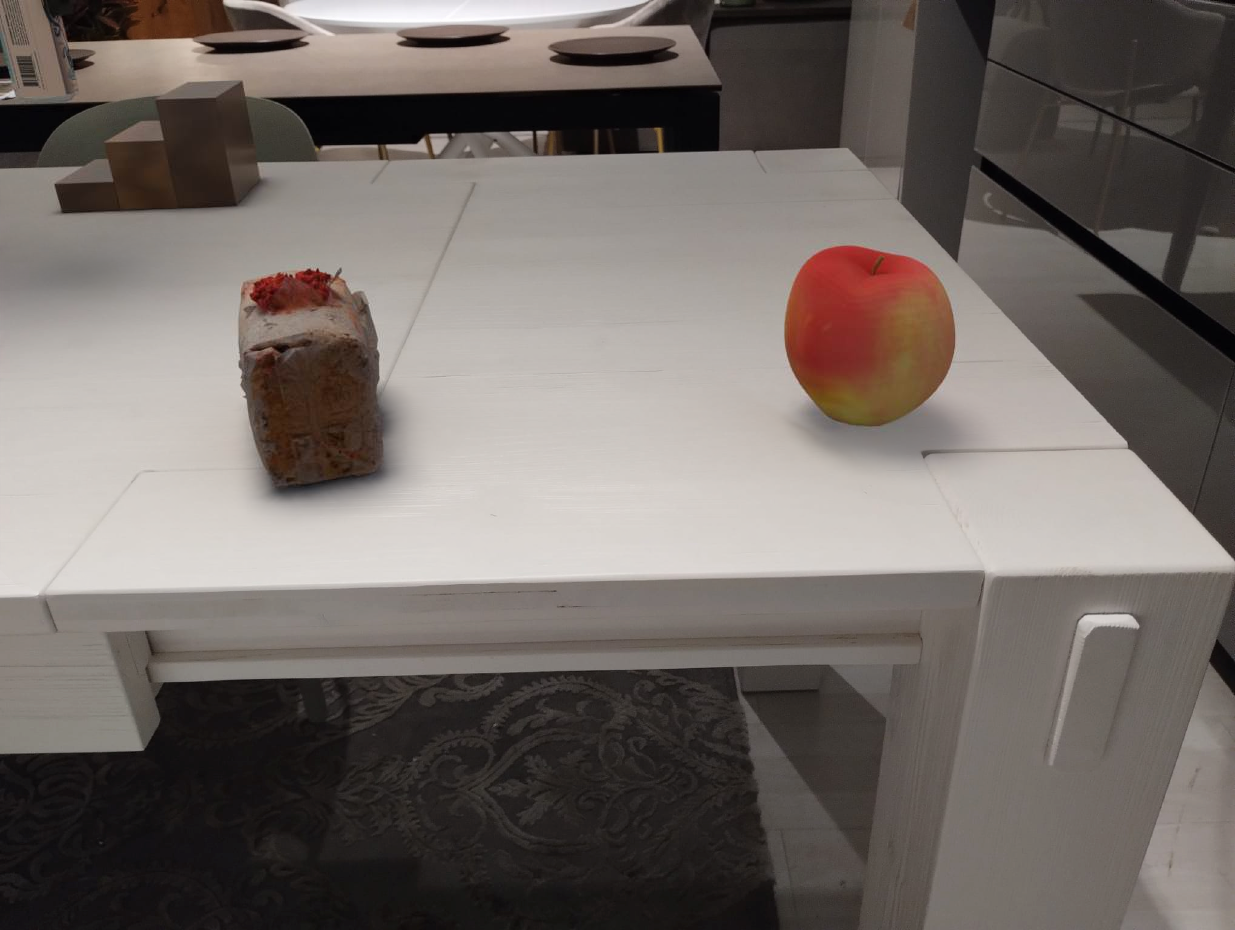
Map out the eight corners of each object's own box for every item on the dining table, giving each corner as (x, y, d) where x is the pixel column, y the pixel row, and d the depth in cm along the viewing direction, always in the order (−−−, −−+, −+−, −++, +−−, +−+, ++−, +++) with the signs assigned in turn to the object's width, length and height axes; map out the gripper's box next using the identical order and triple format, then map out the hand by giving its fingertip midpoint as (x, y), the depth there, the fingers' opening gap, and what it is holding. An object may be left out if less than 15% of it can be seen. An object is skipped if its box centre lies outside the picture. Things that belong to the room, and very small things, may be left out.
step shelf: (61, 212, 107) (30, 103, 101) (101, 185, 117) (75, 85, 112) (236, 205, 108) (215, 97, 103) (260, 179, 118) (242, 80, 113)
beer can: (89, 100, 85) (52, -61, 80) (29, 107, 82) (-14, -60, 77) (67, 93, 88) (29, -62, 82) (8, 99, 85) (-35, -61, 79)
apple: (770, 445, 58) (781, 276, 53) (784, 379, 66) (795, 227, 61) (945, 461, 56) (973, 287, 51) (937, 390, 64) (960, 234, 59)
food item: (249, 397, 65) (218, 246, 60) (375, 378, 67) (354, 231, 62) (259, 498, 54) (221, 322, 49) (410, 471, 56) (388, 300, 51)
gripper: (99, -251, 77) (150, 10, 86) (-137, -256, 76) (-60, 10, 85) (60, -266, 71) (120, 18, 80) (-198, -271, 69) (-108, 19, 78)
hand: (27, 11), depth 82 cm, fingers closed on beer can, 4 cm apart
